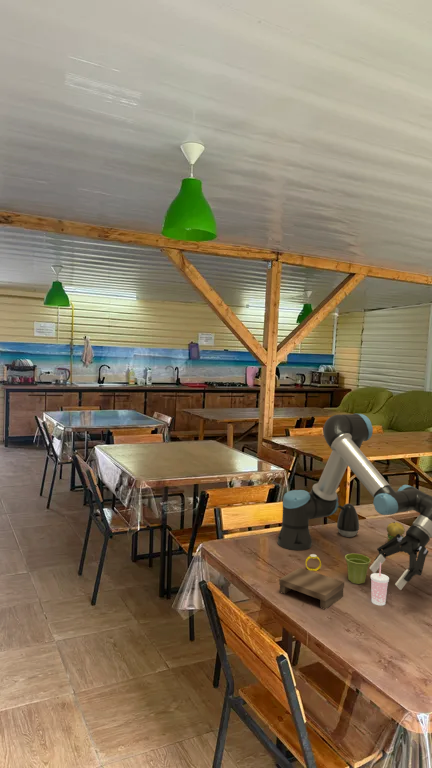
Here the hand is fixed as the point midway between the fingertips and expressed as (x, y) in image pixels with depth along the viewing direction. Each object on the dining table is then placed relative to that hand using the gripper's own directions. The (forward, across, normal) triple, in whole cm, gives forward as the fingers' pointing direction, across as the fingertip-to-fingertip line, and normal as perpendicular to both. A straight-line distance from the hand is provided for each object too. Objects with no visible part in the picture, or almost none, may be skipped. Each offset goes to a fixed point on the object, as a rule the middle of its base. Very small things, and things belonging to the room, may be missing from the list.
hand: (384, 578), depth 177 cm
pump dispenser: (-14, +61, -26) cm, 68 cm away
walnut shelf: (+21, +13, +9) cm, 26 cm away
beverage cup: (+7, +1, -5) cm, 9 cm away
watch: (+12, +31, 0) cm, 33 cm away
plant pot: (+5, +18, -7) cm, 20 cm away
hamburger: (-22, +43, -35) cm, 60 cm away
